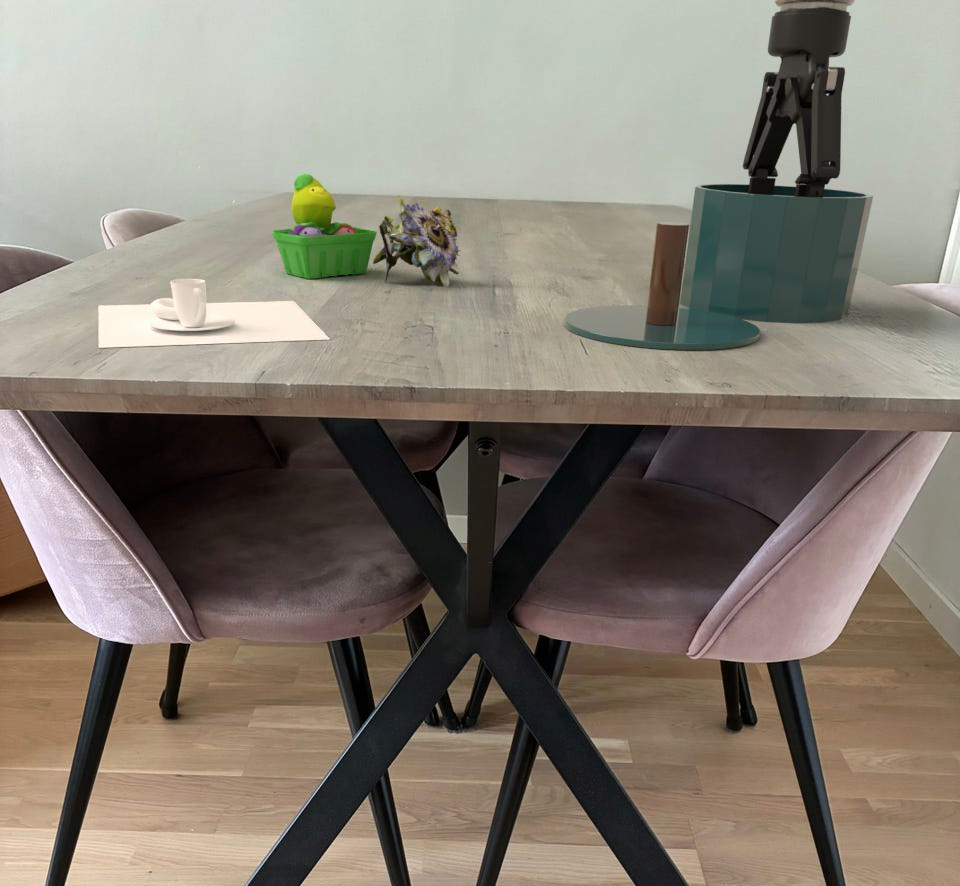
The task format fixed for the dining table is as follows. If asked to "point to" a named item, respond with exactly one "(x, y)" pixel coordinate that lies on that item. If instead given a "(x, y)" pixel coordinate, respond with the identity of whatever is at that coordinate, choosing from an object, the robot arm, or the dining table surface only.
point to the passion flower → (421, 242)
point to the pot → (774, 253)
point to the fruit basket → (321, 236)
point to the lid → (663, 309)
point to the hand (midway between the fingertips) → (775, 247)
